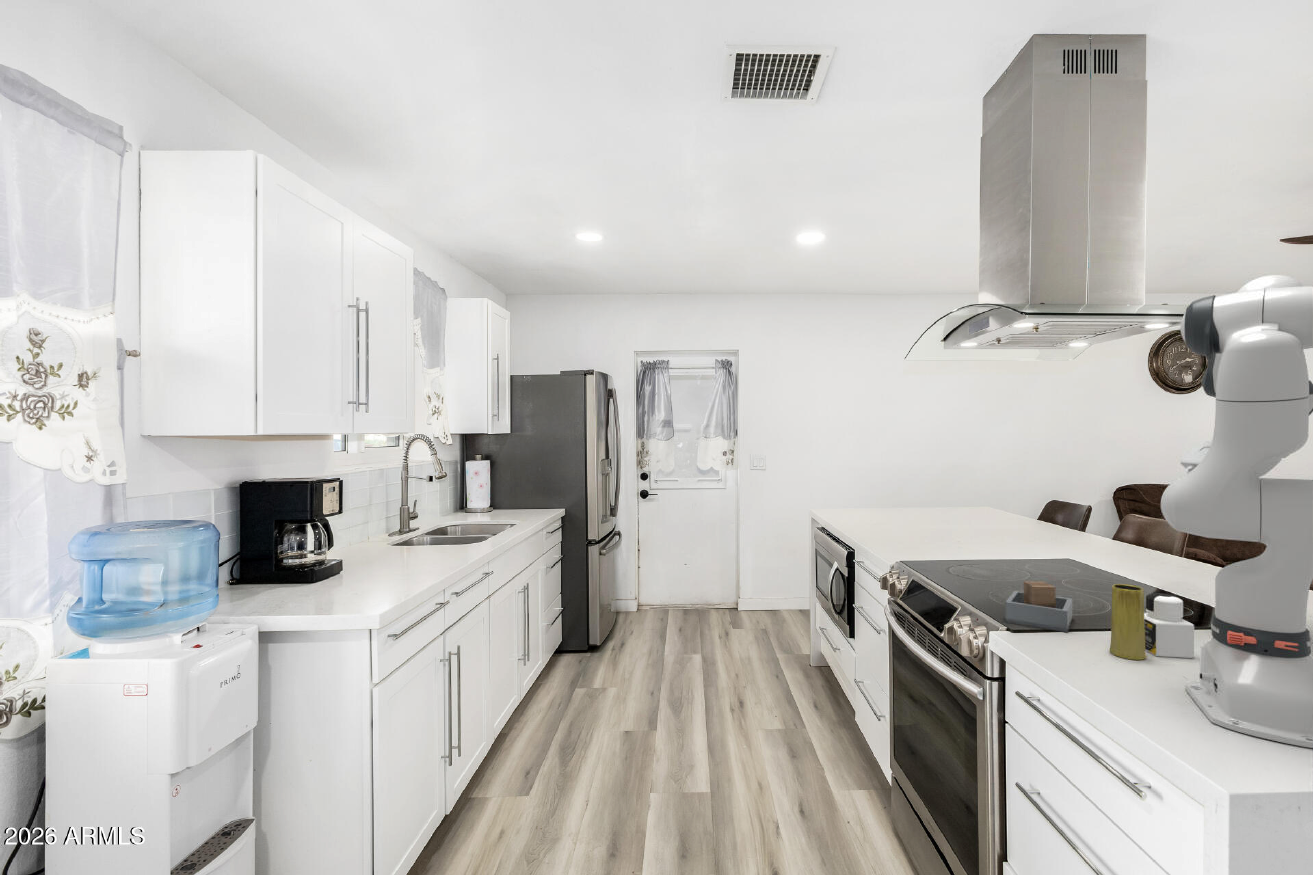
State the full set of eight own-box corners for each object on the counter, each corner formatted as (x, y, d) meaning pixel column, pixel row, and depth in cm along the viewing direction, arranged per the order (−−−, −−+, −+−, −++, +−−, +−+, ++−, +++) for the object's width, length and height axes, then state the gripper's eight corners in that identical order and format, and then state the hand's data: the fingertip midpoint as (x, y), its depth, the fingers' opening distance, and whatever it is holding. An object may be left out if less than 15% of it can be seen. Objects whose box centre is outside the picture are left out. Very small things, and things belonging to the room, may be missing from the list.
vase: (1110, 656, 126) (1110, 588, 126) (1108, 647, 131) (1108, 581, 131) (1147, 662, 122) (1147, 592, 122) (1144, 653, 127) (1144, 585, 127)
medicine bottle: (1135, 644, 132) (1135, 590, 132) (1172, 646, 131) (1172, 591, 131) (1155, 656, 125) (1155, 599, 125) (1194, 658, 124) (1195, 600, 124)
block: (1055, 619, 146) (1055, 587, 146) (1033, 619, 147) (1033, 586, 147) (1044, 613, 151) (1044, 581, 151) (1023, 613, 152) (1023, 581, 152)
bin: (1067, 632, 140) (1067, 611, 140) (1005, 622, 148) (1005, 601, 148) (1072, 618, 150) (1072, 598, 150) (1014, 609, 158) (1014, 590, 158)
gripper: (1200, 431, 147) (1156, 471, 148) (1276, 431, 126) (1224, 478, 128) (1220, 449, 146) (1176, 489, 147) (1299, 453, 126) (1247, 499, 127)
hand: (1199, 484), depth 137 cm, fingers open, 8 cm apart
